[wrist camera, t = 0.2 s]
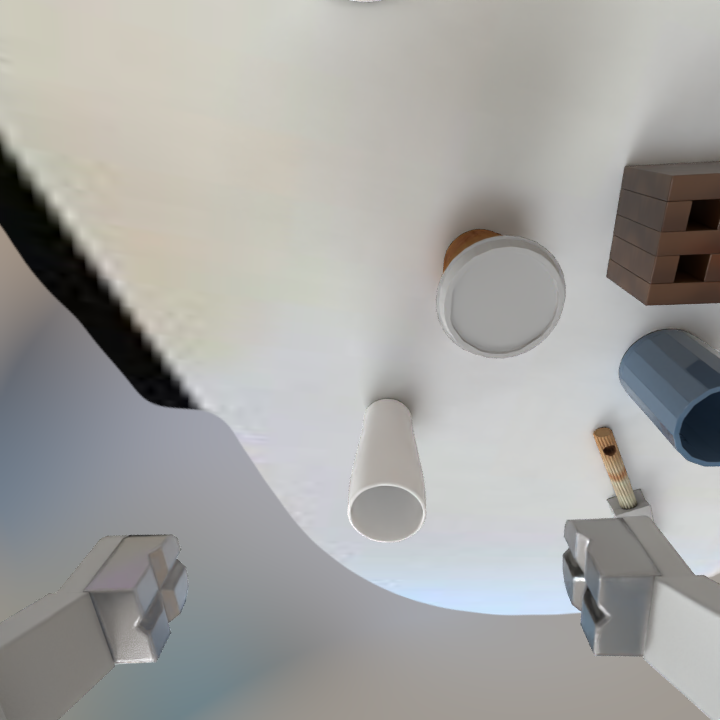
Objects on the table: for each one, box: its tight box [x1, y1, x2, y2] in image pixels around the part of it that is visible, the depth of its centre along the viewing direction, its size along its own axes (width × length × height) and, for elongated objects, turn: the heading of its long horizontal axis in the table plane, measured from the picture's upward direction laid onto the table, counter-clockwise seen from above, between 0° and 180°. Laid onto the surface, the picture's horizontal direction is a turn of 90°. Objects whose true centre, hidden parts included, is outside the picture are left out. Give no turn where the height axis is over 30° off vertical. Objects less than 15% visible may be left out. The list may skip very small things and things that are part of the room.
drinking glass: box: [348, 399, 426, 543], centre depth 48 cm, size 7×7×15 cm
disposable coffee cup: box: [436, 229, 566, 358], centre depth 41 cm, size 10×10×12 cm
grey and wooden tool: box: [593, 427, 653, 521], centre depth 56 cm, size 4×3×20 cm
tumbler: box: [619, 329, 720, 466], centre depth 45 cm, size 8×8×11 cm
